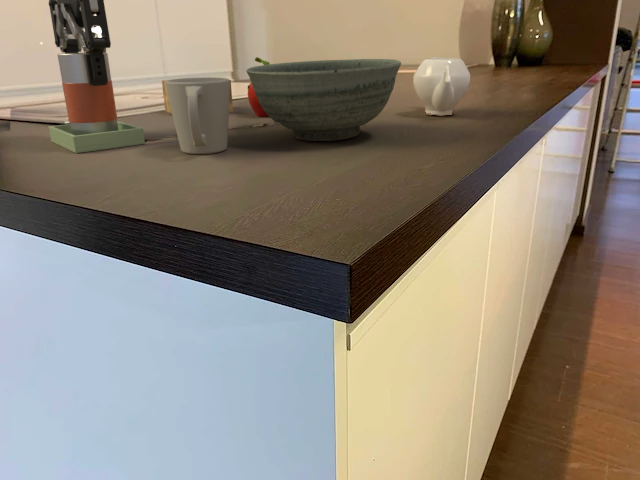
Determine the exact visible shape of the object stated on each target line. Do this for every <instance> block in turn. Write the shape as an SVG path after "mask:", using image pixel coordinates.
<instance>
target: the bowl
mask: <svg viewBox="0 0 640 480" xmlns="http://www.w3.org/2000/svg"><path fill="white" fill-rule="evenodd" d="M401 66H402V62H401V60H399V59H395V58H394V59H392V58H391V59H390V58H353V59H352V58H351V59H324V60H322V59H321V60H304V61H291V62H278V63H269V65H264V64H262V65H255V66H251V67H249V68H247V69H246V70H245V72H246V74H247V76H248V77H249V80H250V83H252V86H253V88H254V91H255V94H256V96H257V99H258V101H259V103H260V105H261V106H262V108H263V110H264V111H265V112H266V113H267V115H268V116H269V117H268V118H269V119H271V120H272V121H273V122H275V123H277V124H279V125H281V127H284V128H286V129H288V130H292V135H293V137H294V138H295V139H296V140H297V139H298V140H302V141H312V142H329V141H339V140H340V141H341V140H346V139H350V138H354V137H356V136H358V135H359V134H360V131H361V126H364V125H366V124H368V123H369V122H371V121H373V120H374V119H375V118H377V117H378V116H379V115H380V114H381V113H382V112H383V110H384V108H385V107H386V106H387V104H388V102H389V100H390V98H391V95H392V92H393V91H394V88H395V84H396V77H397V76H398V72H399V71H400V68H401Z"/></svg>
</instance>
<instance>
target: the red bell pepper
mask: <svg viewBox="0 0 640 480" xmlns="http://www.w3.org/2000/svg"><path fill="white" fill-rule="evenodd" d="M254 61H255V62H257V63H260V64H262V65H269V64H270V62H269V61H267V60H263V59H262V58H261V57H259V56H258V57H257V56H256V57H255V58H254ZM247 99H248V103H249V105H250V107H251V109H252V110H253V112H254V114H255V115H256V116H257V117H258V118H270V117H269V116H268V115H267V113H266V112H265V111H264V110H263V108H262V106H261V105H260V103H259V101H258V99H257V96H256V94H255V91H254V88H253V86H252V83H251V82H250V83H249V84H248V85H247Z"/></svg>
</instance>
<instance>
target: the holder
mask: <svg viewBox="0 0 640 480" xmlns="http://www.w3.org/2000/svg"><path fill="white" fill-rule="evenodd" d="M167 80H168V79H164V80H163V79H162V80H161V85H162V94H163V104H164V111H165V113H169V114H172V111H171V107H170V102H169V97H168V93H167V88H166V83H165V82H166V81H167ZM229 80H230V92H229V113H233V112H234V106H233V105H234V104H233V94H232V80H231V79H229Z"/></svg>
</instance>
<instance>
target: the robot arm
mask: <svg viewBox="0 0 640 480" xmlns="http://www.w3.org/2000/svg"><path fill="white" fill-rule="evenodd" d="M48 6H49V12H50V18H51V24H52V25H51V26H52V31H53V35H54V45H55V46H56V48H59V50H60V53H82V51H83V53H85V54H88V55H84V57H85V64H86V70H87V76H88V82H89V84H90V85H92V86H100V85H107V83H108V78H107V71H106V64H105V58H104V54H103V53H107V49H110V48H111V46H112V41H111V37H110V30H109V25H108V21H107V20H108V18H107V14H106V8H105V0H48Z"/></svg>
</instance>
